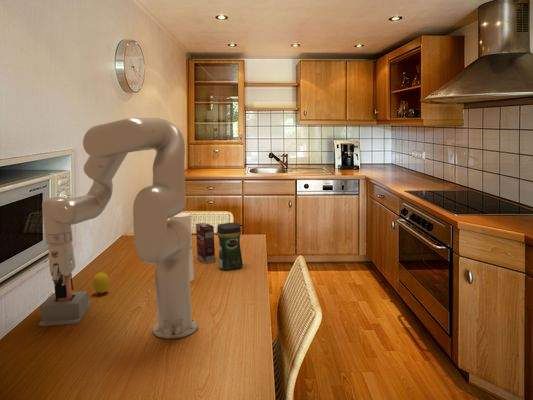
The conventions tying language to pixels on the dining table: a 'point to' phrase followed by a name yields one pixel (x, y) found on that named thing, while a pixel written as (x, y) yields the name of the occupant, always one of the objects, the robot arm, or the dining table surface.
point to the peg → (67, 288)
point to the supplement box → (205, 242)
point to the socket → (64, 309)
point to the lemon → (101, 282)
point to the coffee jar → (229, 246)
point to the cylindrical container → (186, 220)
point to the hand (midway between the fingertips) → (64, 293)
